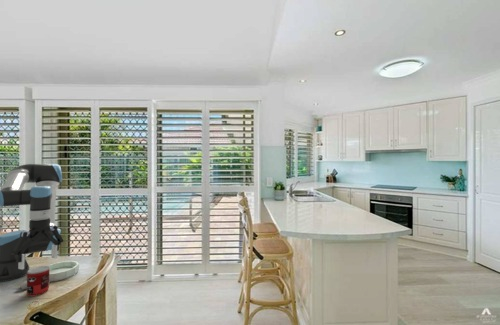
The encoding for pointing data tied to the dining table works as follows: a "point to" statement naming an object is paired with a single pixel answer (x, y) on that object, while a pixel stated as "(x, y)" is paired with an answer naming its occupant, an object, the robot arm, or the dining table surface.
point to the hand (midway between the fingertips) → (38, 263)
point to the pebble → (24, 285)
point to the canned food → (37, 280)
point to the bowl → (62, 270)
